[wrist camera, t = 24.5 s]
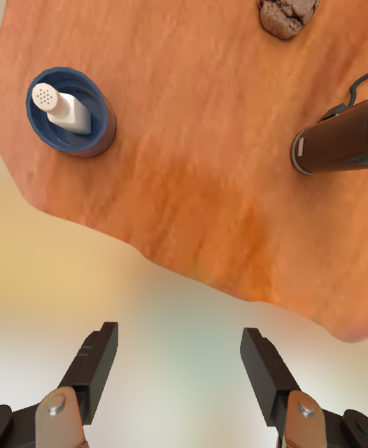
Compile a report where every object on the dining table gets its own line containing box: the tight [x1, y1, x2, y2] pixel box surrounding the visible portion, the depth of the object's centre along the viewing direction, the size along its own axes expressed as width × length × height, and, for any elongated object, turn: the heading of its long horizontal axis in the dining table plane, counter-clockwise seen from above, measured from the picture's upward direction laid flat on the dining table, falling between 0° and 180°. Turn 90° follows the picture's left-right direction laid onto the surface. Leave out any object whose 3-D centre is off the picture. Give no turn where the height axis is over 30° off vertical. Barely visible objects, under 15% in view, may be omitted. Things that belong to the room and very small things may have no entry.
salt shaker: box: [32, 83, 91, 134], centre depth 28 cm, size 4×4×10 cm
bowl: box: [26, 67, 116, 157], centre depth 31 cm, size 12×12×5 cm
